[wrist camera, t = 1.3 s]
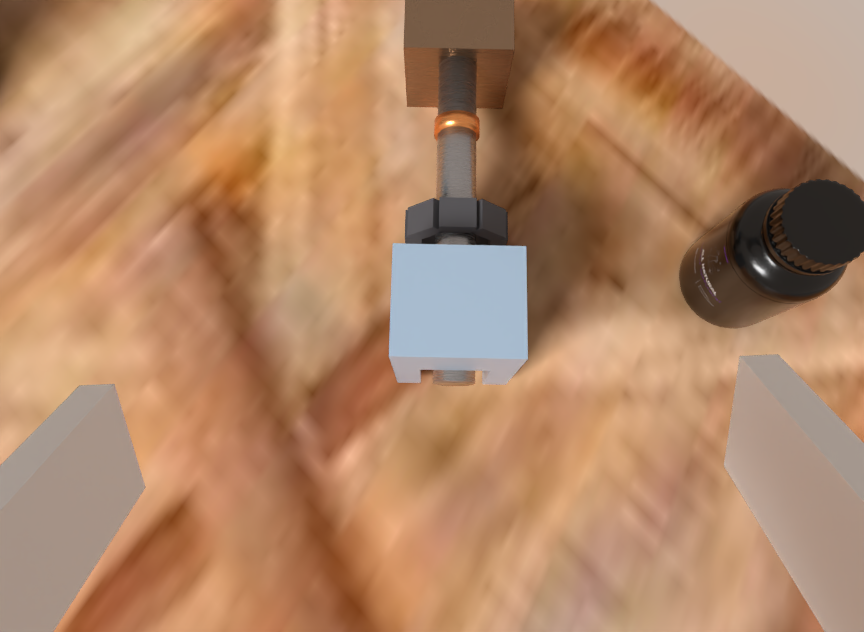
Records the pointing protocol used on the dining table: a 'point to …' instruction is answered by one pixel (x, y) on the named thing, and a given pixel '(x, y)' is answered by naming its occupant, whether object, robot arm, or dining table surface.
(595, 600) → the dining table surface
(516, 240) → the dining table surface
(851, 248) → the supplement bottle
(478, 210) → the ring
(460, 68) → the pipe rig
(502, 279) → the sleeve
